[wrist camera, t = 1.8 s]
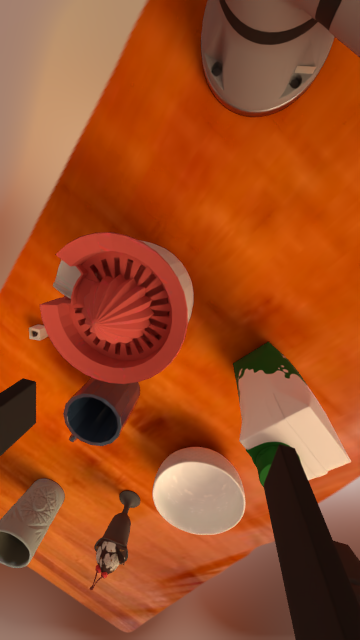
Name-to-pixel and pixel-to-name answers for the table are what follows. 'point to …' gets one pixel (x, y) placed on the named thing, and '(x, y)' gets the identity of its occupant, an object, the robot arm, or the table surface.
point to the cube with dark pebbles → (37, 332)
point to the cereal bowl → (199, 491)
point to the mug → (100, 411)
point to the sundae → (115, 538)
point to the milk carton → (283, 415)
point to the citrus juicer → (118, 307)
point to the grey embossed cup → (29, 522)
